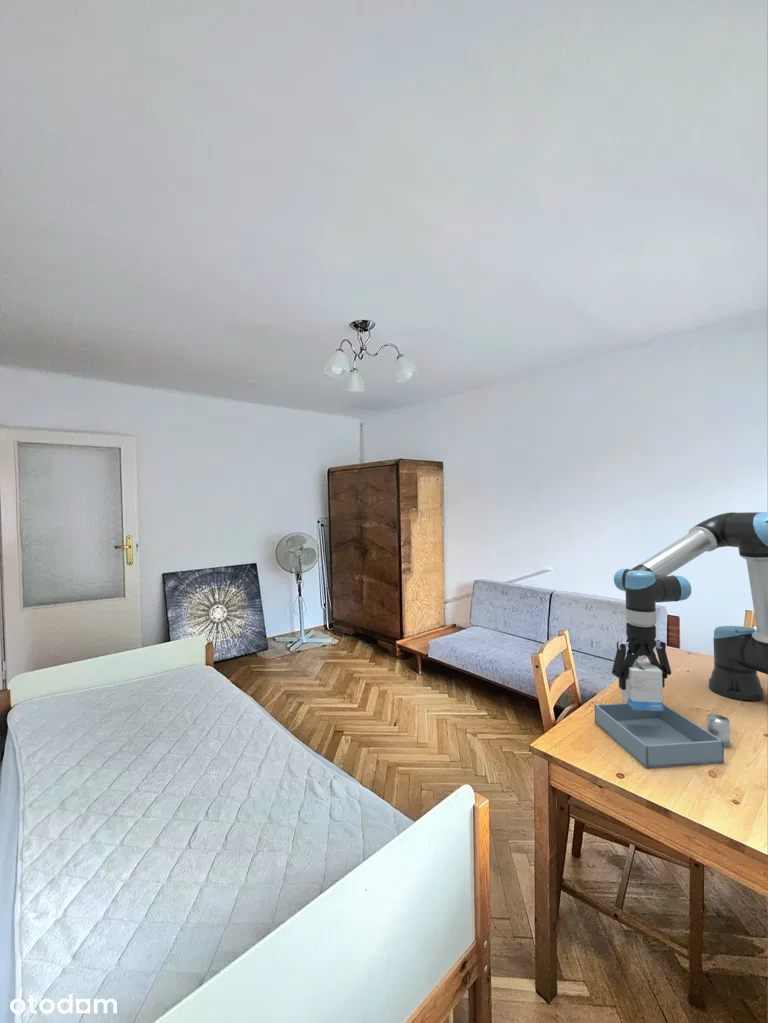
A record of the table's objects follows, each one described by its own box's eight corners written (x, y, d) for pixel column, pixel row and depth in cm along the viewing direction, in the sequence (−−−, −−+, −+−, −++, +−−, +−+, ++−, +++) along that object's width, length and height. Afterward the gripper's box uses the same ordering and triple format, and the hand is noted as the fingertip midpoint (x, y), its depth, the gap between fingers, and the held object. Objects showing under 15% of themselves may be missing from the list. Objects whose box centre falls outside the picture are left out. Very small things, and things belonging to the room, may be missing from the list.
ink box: (664, 712, 120) (663, 665, 120) (631, 710, 122) (631, 663, 122) (651, 698, 128) (650, 655, 128) (621, 697, 130) (620, 653, 130)
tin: (719, 737, 122) (718, 713, 122) (734, 747, 117) (734, 722, 117) (702, 738, 121) (702, 714, 121) (717, 748, 116) (717, 723, 116)
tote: (659, 718, 133) (659, 700, 133) (723, 762, 110) (723, 741, 110) (594, 722, 131) (594, 704, 131) (646, 768, 108) (645, 746, 108)
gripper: (666, 618, 129) (667, 691, 130) (597, 621, 128) (598, 695, 128) (686, 625, 122) (687, 702, 122) (612, 628, 120) (613, 706, 121)
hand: (641, 699), depth 125 cm, fingers closed on ink box, 9 cm apart
